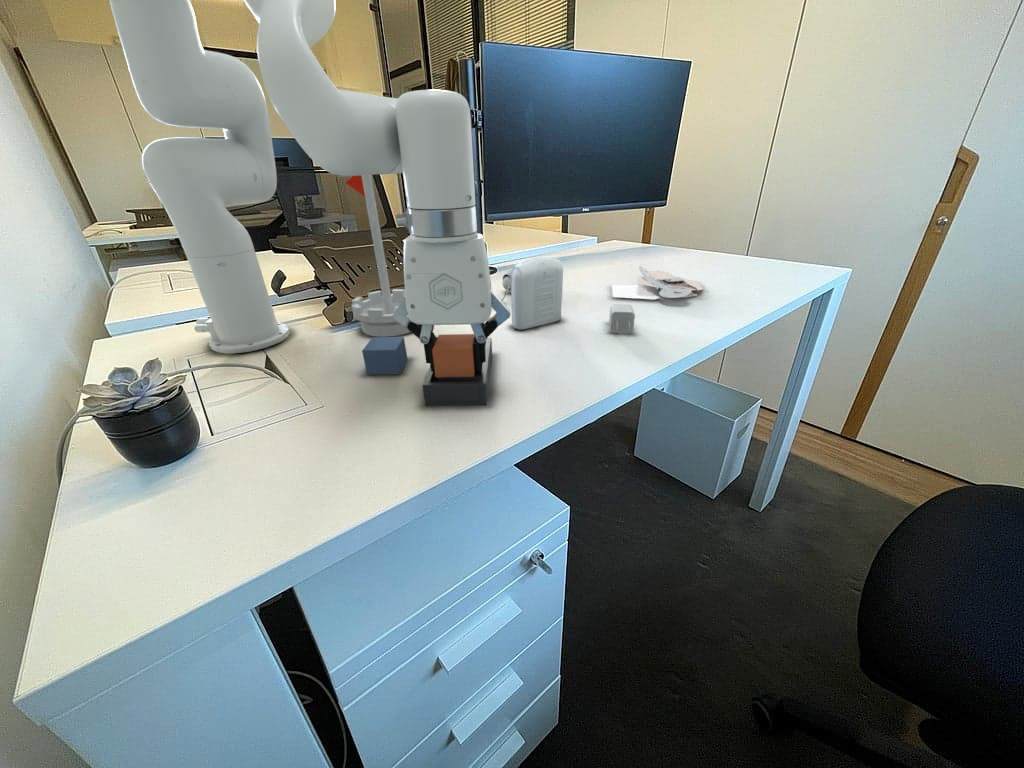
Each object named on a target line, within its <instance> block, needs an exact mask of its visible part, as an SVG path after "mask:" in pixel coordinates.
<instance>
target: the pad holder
mask: <svg viewBox="0 0 1024 768" xmlns="http://www.w3.org/2000/svg"><path fill="white" fill-rule="evenodd" d="M485 352H486V361H485V362H481V367H480V371H476V370H475V374H474V377H436V376H435V372H431V367H430V366H429V367H428V369H427V372H426V374H425V377H424V379H423V382H422V384H421V388H422V395H423V402H424V406H425V407H437V406H438V407H439V406H487V405H488V398H489V388H490V380H491V379H490V378H491V371H492V360H493V342H492V337H488V338H487V339H486V340H485Z"/></svg>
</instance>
